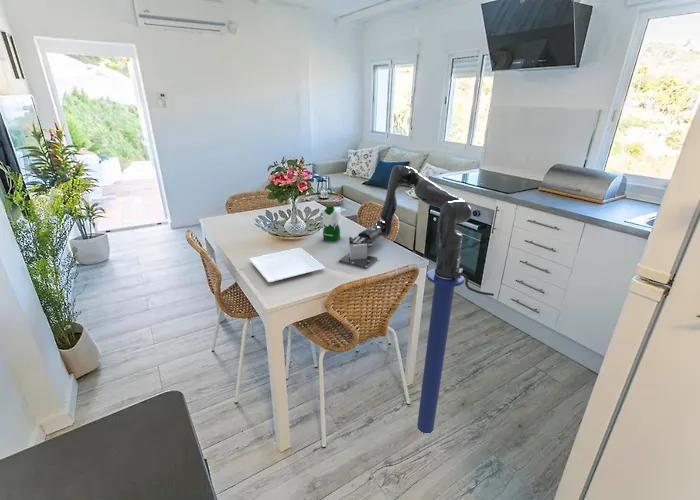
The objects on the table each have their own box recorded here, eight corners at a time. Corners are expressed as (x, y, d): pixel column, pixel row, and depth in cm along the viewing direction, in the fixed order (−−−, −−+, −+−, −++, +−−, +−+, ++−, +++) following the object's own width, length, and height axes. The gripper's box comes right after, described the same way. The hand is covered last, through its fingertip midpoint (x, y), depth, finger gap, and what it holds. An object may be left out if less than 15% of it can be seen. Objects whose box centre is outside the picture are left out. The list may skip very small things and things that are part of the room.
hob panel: (377, 260, 167) (377, 257, 166) (365, 269, 157) (365, 266, 156) (351, 254, 173) (351, 251, 172) (338, 263, 163) (338, 259, 162)
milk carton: (321, 241, 188) (320, 206, 180) (327, 236, 196) (327, 201, 188) (336, 244, 186) (336, 207, 178) (342, 238, 194) (342, 203, 186)
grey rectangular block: (365, 257, 166) (366, 243, 163) (366, 258, 164) (367, 244, 162) (349, 258, 164) (350, 244, 161) (350, 260, 162) (350, 245, 160)
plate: (325, 271, 154) (325, 267, 153) (268, 286, 141) (268, 281, 140) (300, 250, 174) (300, 246, 173) (249, 262, 161) (248, 258, 160)
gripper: (356, 227, 178) (339, 237, 164) (380, 232, 172) (364, 242, 158) (356, 241, 181) (339, 252, 167) (379, 246, 175) (363, 257, 161)
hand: (351, 247), depth 162 cm, fingers closed
